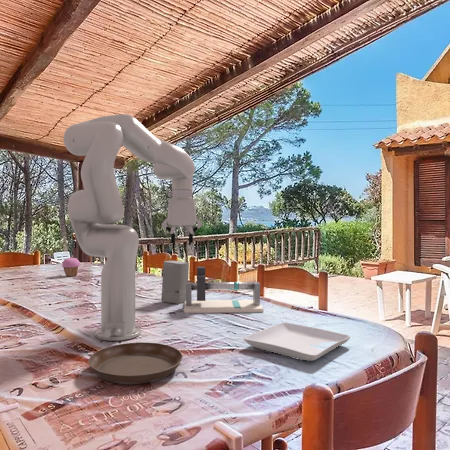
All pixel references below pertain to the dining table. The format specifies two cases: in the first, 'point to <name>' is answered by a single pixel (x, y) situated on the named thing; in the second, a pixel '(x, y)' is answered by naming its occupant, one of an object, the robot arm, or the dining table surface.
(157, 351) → the plant saucer
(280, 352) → the salad plate
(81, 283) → the dining table surface
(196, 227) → the robot arm
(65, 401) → the dining table surface
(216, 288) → the rail
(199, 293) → the collar
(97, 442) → the dining table surface
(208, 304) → the board
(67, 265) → the cupcake
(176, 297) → the skincare box
